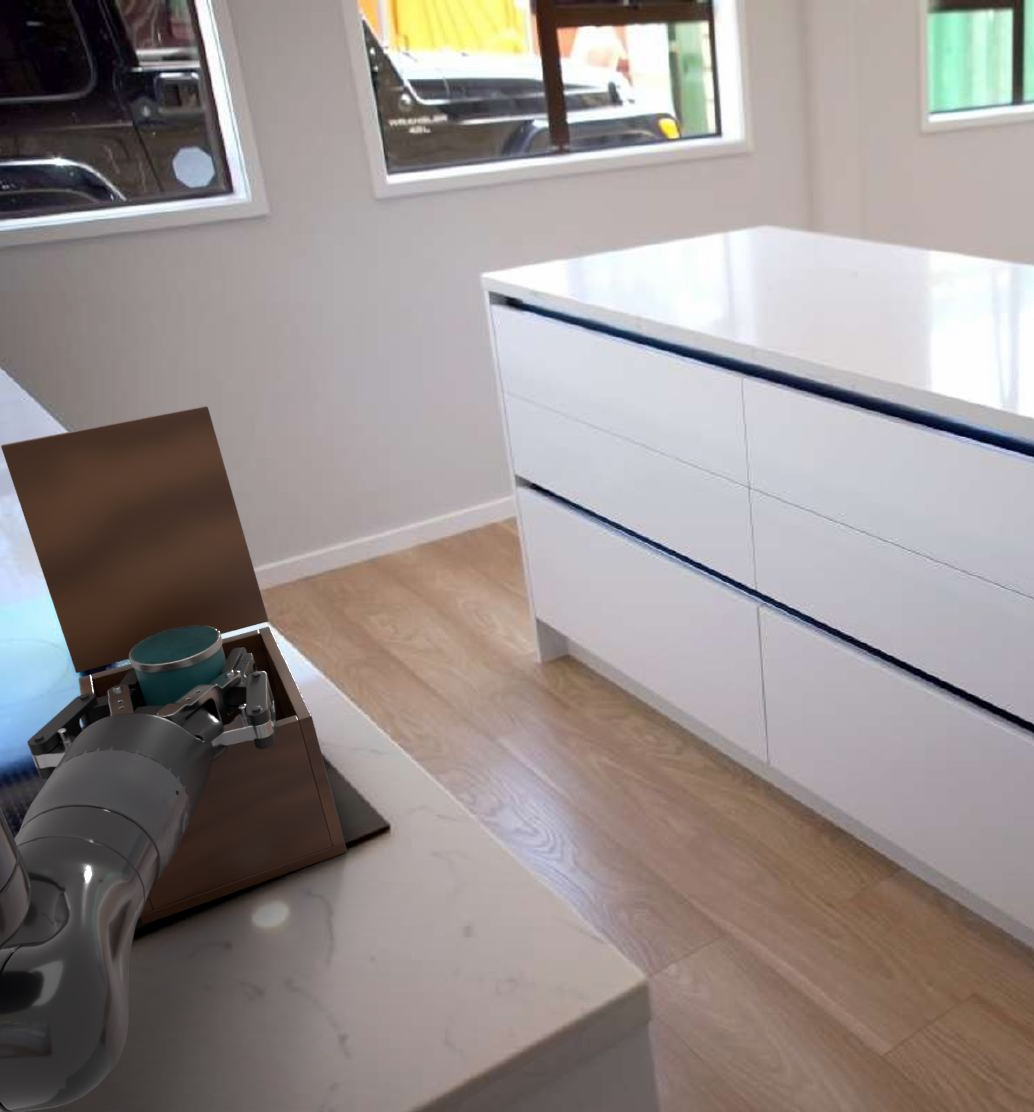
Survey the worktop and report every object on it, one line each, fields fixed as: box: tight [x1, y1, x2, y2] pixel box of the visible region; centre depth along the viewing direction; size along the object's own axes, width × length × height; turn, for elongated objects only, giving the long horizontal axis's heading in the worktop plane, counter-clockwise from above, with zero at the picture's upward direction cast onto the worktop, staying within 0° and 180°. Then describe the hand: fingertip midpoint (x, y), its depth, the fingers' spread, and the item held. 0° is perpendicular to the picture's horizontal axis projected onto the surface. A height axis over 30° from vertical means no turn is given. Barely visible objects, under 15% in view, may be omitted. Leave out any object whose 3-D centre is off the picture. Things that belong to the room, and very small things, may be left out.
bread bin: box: [78, 625, 348, 925], centre depth 87 cm, size 16×13×11 cm
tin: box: [128, 625, 236, 722], centre depth 83 cm, size 5×5×9 cm
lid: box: [0, 405, 269, 674], centre depth 88 cm, size 16×13×1 cm
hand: (197, 666), depth 85 cm, fingers closed on tin, 5 cm apart
